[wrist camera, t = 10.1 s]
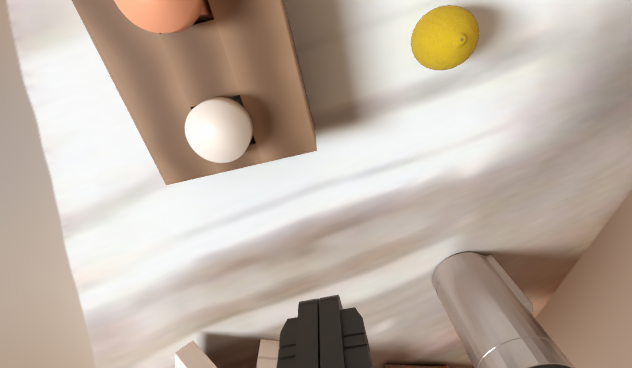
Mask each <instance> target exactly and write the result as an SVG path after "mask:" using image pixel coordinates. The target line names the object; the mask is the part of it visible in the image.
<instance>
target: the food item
mask: <svg viewBox="0 0 632 368" xmlns="http://www.w3.org/2000/svg"><path fill="white" fill-rule="evenodd" d="M383 368H449V367H448V366H446V365H445V366H416V365H393V364H385V365H384V367H383Z"/></svg>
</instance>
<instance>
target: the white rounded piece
mask: <svg viewBox="0 0 632 368" xmlns="http://www.w3.org/2000/svg"><path fill="white" fill-rule="evenodd" d="M185 134H186V138H187V141H188V143H189V145H190V146H191V147H192V149H193V150H194V151H195V152H196V153H197V154H198V155H200V156H201V157H202V158H204V159H206V160H208V161H211V162H216V163H227V162H231V161H234V160H236V159H238V158H239V157H240V156H242V155H243V153H244V152H245V151H246V149H247V147H248V145H249V143H250V141H251V139H252V136H253V124H252V120H251V117H250V115H249V114H248V112H247V111H246V109H245V108H244V106H243V103H242V100H241V97H240V95H237V96H233V97H229V98H226V97H212V98H209V99H207V100H205V101H203V102H202V103H200V104H199V105H197V106H196V107H194V108H193V109H192V110H191V112H190V113H189V114H188V116H187V119H186V122H185Z"/></svg>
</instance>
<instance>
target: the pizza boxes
mask: <svg viewBox="0 0 632 368" xmlns="http://www.w3.org/2000/svg"><path fill="white" fill-rule="evenodd" d="M279 342H280V341H274V340H264V339H261V341H260V347H259V353H258V359H257V364H256V368H277V361H278V351H279ZM175 368H217V367H216V366H215V365H214V364H213V362H212V361H211V360H210V359H209V358H208V357H207V356H206V354H205V353H204V352H203V351H202V350H201V349H200V348H199V346H198V345H197V344H196V343H195V342H194V341H192V342H190V343H189V344H187V345H186V346H184V347H183V348H181V349H180V350H179V351H177V352H176V353H175Z"/></svg>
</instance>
